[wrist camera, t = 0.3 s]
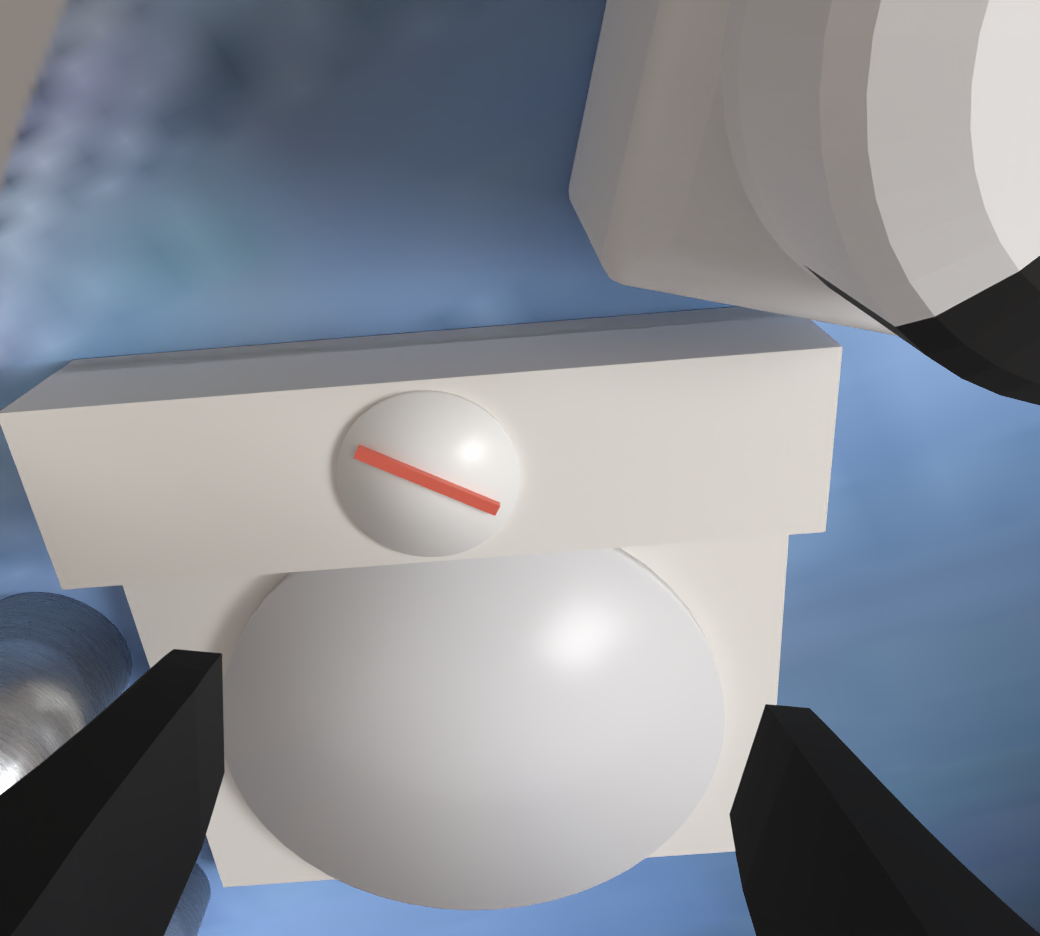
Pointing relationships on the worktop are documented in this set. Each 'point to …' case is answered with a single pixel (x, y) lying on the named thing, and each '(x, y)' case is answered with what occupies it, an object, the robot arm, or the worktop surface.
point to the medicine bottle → (827, 167)
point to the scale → (456, 580)
